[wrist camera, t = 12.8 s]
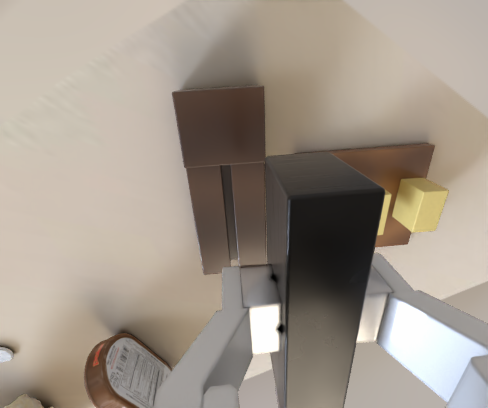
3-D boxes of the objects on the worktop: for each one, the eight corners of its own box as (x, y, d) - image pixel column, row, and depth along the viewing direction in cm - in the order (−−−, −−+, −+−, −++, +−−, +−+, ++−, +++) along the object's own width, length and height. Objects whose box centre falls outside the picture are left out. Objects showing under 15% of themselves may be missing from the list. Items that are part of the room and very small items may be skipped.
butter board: (294, 153, 26) (297, 156, 25) (428, 143, 27) (435, 145, 26) (291, 250, 31) (293, 255, 30) (402, 239, 32) (408, 244, 31)
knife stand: (179, 89, 23) (171, 91, 19) (258, 84, 23) (264, 86, 20) (205, 258, 31) (202, 280, 27) (262, 252, 31) (267, 274, 28)
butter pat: (400, 178, 27) (423, 191, 24) (423, 177, 27) (449, 190, 24) (391, 216, 29) (411, 232, 26) (412, 214, 29) (435, 231, 26)
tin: (100, 327, 35) (66, 397, 27) (119, 318, 34) (89, 386, 27) (169, 380, 41) (157, 449, 33) (186, 373, 40) (177, 441, 33)
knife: (252, 135, 10) (287, 197, 4) (299, 131, 10) (388, 188, 5) (264, 391, 17) (282, 530, 12) (291, 388, 17) (321, 525, 12)
